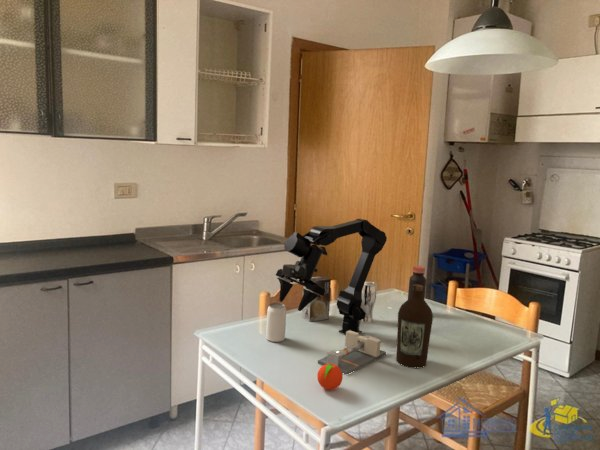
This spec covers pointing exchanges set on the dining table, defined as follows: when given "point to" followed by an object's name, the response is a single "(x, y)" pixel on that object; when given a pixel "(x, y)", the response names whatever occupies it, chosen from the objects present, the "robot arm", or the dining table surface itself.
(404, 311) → the olive oil
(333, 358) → the steel pipe
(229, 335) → the dining table surface
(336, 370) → the clementine
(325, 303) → the coffee box
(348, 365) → the rail board
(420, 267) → the bottle
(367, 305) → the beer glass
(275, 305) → the can
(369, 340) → the cream flat bar
